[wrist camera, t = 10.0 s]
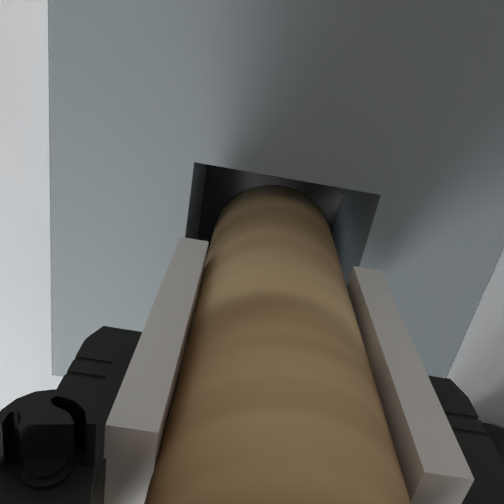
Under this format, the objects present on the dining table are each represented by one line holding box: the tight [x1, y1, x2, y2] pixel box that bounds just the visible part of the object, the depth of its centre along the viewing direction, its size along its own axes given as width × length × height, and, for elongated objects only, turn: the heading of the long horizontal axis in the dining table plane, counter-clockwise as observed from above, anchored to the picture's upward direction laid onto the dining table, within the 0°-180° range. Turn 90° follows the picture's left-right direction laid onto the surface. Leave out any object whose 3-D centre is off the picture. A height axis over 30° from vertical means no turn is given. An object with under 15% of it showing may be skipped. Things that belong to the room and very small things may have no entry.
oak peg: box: [144, 185, 411, 504], centre depth 10 cm, size 4×4×14 cm
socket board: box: [48, 0, 504, 378], centre depth 16 cm, size 20×14×5 cm
